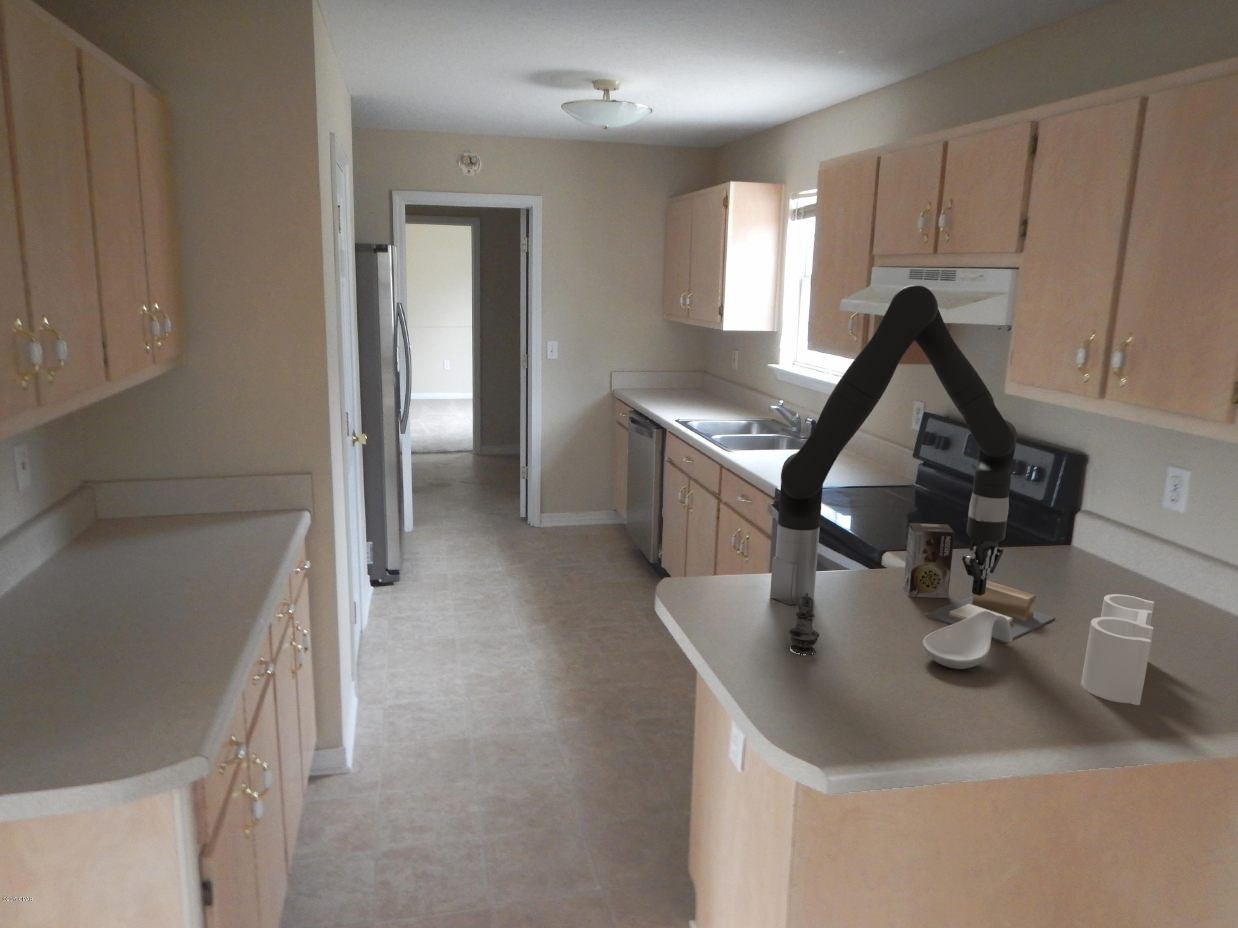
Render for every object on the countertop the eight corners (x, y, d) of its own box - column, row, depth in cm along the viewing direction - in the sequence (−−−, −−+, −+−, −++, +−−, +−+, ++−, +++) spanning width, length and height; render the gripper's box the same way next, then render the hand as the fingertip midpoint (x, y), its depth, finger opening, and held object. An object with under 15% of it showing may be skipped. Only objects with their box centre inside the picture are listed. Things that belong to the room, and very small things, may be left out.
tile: (1012, 622, 190) (993, 642, 186) (969, 607, 198) (949, 626, 194) (1011, 607, 189) (992, 627, 185) (968, 593, 196) (948, 612, 192)
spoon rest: (965, 683, 162) (970, 646, 161) (909, 660, 171) (912, 626, 169) (1028, 648, 177) (1032, 615, 175) (973, 629, 186) (976, 597, 184)
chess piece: (819, 646, 176) (824, 589, 174) (816, 658, 171) (820, 599, 168) (789, 642, 178) (793, 585, 175) (785, 653, 172) (789, 595, 170)
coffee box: (941, 589, 210) (948, 523, 207) (948, 599, 204) (956, 531, 201) (901, 587, 211) (908, 521, 208) (907, 596, 205) (914, 529, 202)
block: (1024, 621, 191) (1027, 599, 190) (972, 604, 200) (974, 583, 199) (1033, 617, 194) (1036, 595, 193) (981, 600, 203) (984, 579, 202)
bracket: (1093, 646, 180) (1102, 590, 178) (1148, 658, 175) (1158, 601, 173) (1077, 692, 160) (1087, 629, 157) (1139, 708, 155) (1150, 643, 152)
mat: (1004, 643, 180) (1004, 641, 180) (925, 615, 194) (925, 613, 194) (1055, 619, 194) (1055, 617, 194) (978, 594, 208) (978, 593, 208)
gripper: (987, 506, 192) (977, 582, 196) (954, 516, 184) (945, 595, 187) (1021, 514, 186) (1010, 592, 190) (988, 524, 178) (978, 606, 182)
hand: (978, 593), depth 189 cm, fingers closed
